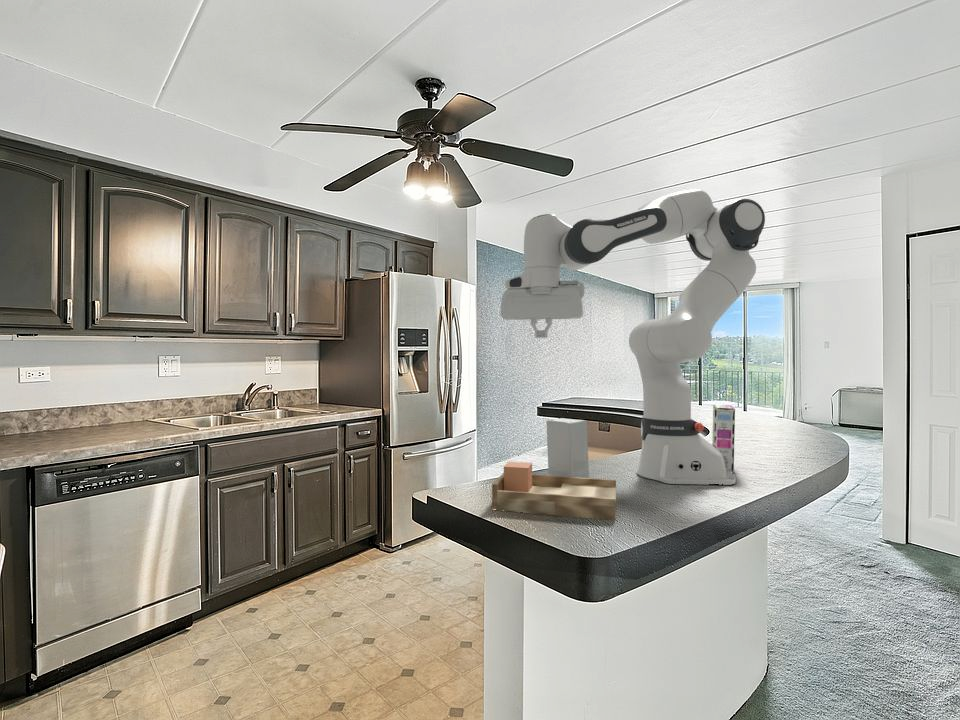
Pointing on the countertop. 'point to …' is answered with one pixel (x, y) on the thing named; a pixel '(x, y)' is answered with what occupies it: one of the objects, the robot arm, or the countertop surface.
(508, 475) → the block
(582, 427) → the skincare box
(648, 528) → the countertop surface
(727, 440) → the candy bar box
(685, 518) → the countertop surface
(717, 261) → the robot arm
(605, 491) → the wooden tray
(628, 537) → the countertop surface
